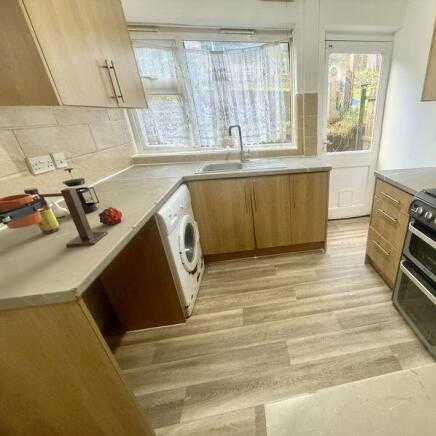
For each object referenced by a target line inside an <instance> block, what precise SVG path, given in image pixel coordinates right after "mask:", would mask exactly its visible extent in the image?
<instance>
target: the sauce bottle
mask: <svg viewBox="0 0 436 436" xmlns="http://www.w3.org/2000/svg"><path fill="white" fill-rule="evenodd" d="M23 192H24V194H31V195H34V194H40V191H39V189H38V188H37V187H29V188H25V189H23ZM33 200H36V199H35V198H33ZM45 201H46V203H47V205H45V206H43V207H44V210H41V211H39V213H40V215H41V217H42V219H43V220H42V221H41V222H39V223H37V224H36V225H37V226H38V228H39V230H40V231H41V232H42V233H43V234H51V233H54V232H57V231H60V229H61V227H60V224H59V222H58V220H57V218H55V216H54V214H53V212H52V211H53V210H52V207H51V206H50V204H49V202H48V201H47V200H46V199H45Z"/></svg>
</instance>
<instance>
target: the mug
mask: <svg viewBox="0 0 436 436" xmlns="http://www.w3.org/2000/svg"><path fill="white" fill-rule="evenodd" d="M33 198H35V199H38V198H39V196H38V195H37V194H34V195H31V194H25V193H19V194H13V195H12V194H11V195H7V196H2V197H0V211H5V210H9V209H12V208H16V207H19V206H23V205H25V204H26V203H28V202H31V201H33ZM37 210H38V212H37V213H35V214H31V215H28V216H26V217H23V218H20V219H18V220H15V221H13V222H11V223H9V224H6V225H5V226H7V228H8V229H13V230H14V229H22V228H23V229H24V228H28V227H31V226H34V225H38V224H37V223H39V222H41V221H42V220H43V219H42V217H41V215H40V213H39V211H41V210H44V207H40V208H38V209H37Z"/></svg>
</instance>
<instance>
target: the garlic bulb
mask: <svg viewBox="0 0 436 436" xmlns="http://www.w3.org/2000/svg"><path fill="white" fill-rule="evenodd" d="M51 204H52V207H53V210H52V212H53V214H54V216H55V218H56V219H58V218H61V217H64V216H66V215H68V214H69V210H67V209H68V208H67V209H66V208H65V207H61V206H60V205H58V204H57V202H56V201H54V200H53V201H51Z"/></svg>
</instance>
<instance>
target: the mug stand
mask: <svg viewBox="0 0 436 436" xmlns="http://www.w3.org/2000/svg"><path fill="white" fill-rule="evenodd" d="M75 188H76V187H67V188H63V189H61V190H60V192H58V193H41V194H40V193H39V194H37V195H38V196H39V198H41V197H44V198H58V197H59V198H60V197H62V198H63V200H64V203H65V205H66V207H67V209H68V210H67V211H68V213H69V215H70V216H71V218H72V221H73V224H74V227H75V228H76V230H77V234H78V235H77V236H76V237H75V238H73V239H71V240H69V241H68V242H67V243H66V244H65V247H66V248H67V249H68V248H79V247H88V246H95V245H96V244H97V243H98V242H100V241H101V240H102V239H103V238H105V237H106V236H107V235H108V234H109V232H108V230H105V231H92V227H91V225H90V222H89V221H88V218H87V214H85V213H84V210H83V207H82V205H81V202H80V200H79V197H78V195H77V192H76V190H75Z"/></svg>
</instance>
